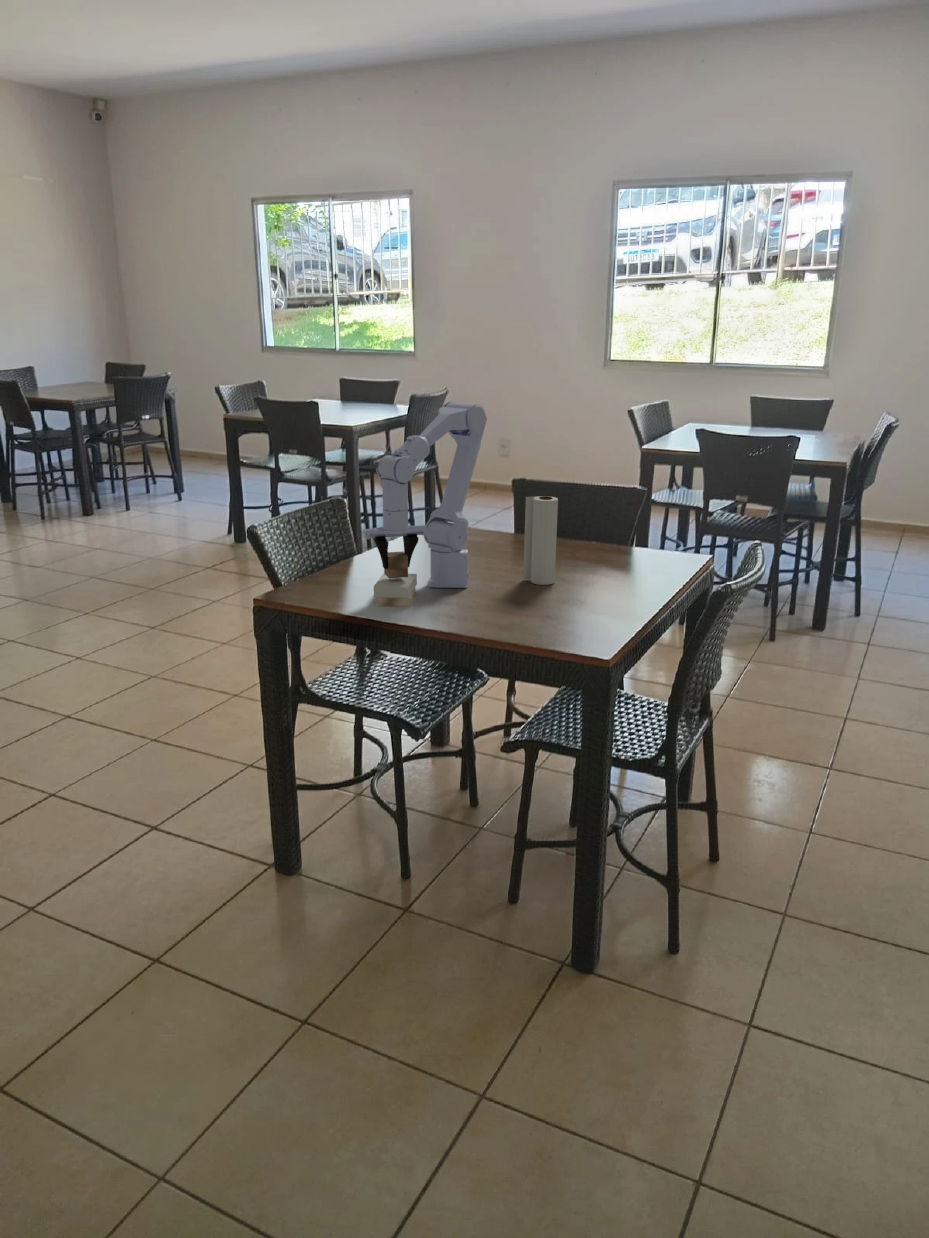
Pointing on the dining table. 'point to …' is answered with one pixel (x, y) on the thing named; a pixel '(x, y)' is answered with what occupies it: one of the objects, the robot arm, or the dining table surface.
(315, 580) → the dining table surface
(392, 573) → the walnut block
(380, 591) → the slab top
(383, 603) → the slab bottom
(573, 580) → the dining table surface
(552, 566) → the paper towel roll
